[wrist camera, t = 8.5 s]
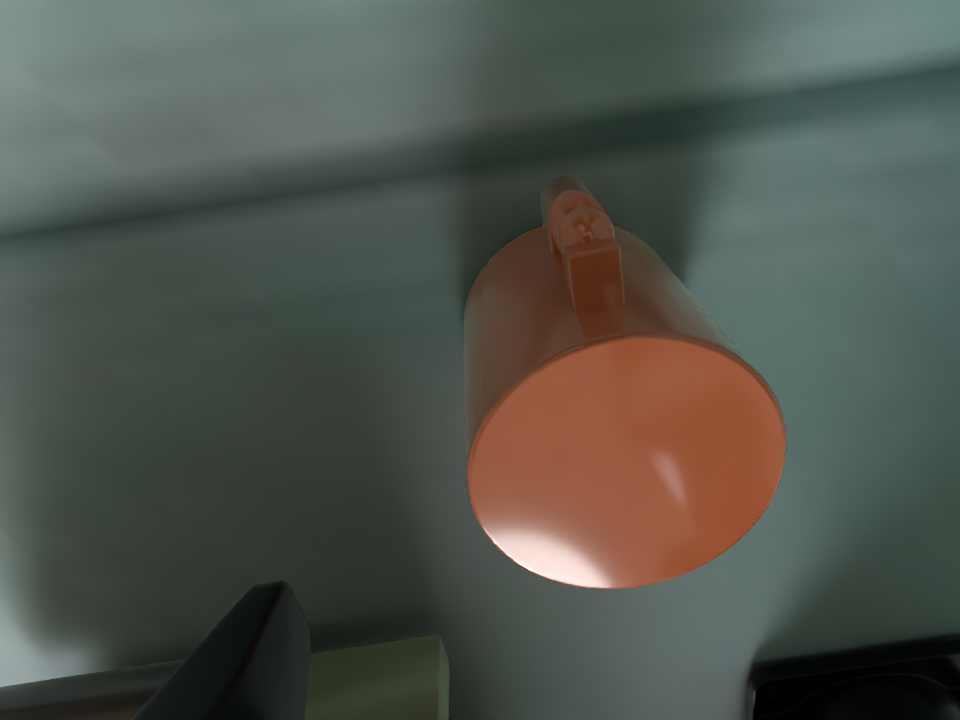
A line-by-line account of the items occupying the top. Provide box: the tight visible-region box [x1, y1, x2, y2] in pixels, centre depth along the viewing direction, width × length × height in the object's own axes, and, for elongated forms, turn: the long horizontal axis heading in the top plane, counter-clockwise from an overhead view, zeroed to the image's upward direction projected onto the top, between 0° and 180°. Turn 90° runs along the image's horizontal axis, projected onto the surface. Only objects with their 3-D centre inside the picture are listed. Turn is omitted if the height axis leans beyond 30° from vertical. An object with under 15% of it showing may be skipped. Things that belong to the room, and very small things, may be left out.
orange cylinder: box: [463, 176, 786, 589], centre depth 11 cm, size 4×6×5 cm
